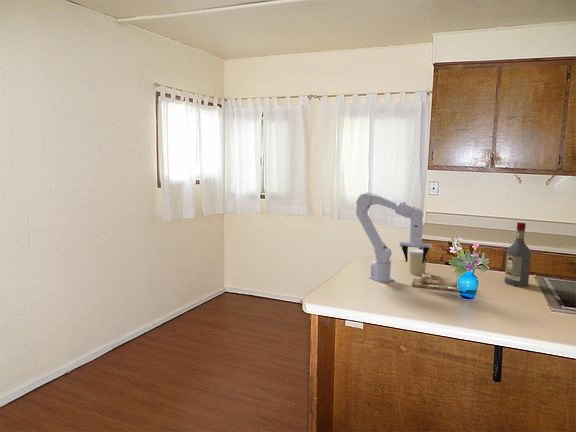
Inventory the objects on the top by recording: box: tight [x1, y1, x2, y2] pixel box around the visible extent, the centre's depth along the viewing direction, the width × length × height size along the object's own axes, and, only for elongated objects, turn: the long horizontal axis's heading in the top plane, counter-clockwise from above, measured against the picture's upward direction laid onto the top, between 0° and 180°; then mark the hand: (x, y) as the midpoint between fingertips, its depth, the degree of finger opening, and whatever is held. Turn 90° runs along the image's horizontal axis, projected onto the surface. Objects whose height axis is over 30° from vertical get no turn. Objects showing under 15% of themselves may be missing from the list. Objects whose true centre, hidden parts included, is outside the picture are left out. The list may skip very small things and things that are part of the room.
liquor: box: [504, 222, 532, 287], centre depth 211 cm, size 9×9×30 cm
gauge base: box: [411, 277, 459, 293], centre depth 207 cm, size 24×12×5 cm, turn 69°
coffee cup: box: [408, 248, 428, 276], centre depth 230 cm, size 9×9×12 cm
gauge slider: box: [420, 273, 432, 284], centre depth 208 cm, size 4×8×3 cm, turn 159°
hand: (414, 262), depth 210 cm, fingers open, 7 cm apart
